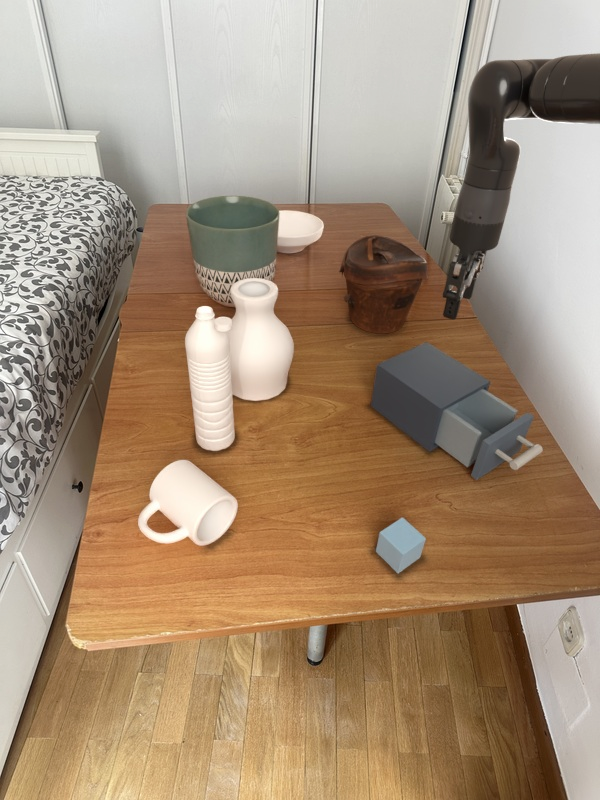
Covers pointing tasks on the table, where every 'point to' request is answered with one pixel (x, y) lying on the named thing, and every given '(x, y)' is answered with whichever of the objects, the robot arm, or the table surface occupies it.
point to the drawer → (485, 433)
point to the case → (381, 282)
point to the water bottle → (210, 379)
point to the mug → (188, 505)
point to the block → (400, 544)
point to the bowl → (297, 230)
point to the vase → (258, 342)
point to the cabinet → (422, 390)
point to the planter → (232, 242)
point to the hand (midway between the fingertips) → (457, 307)
